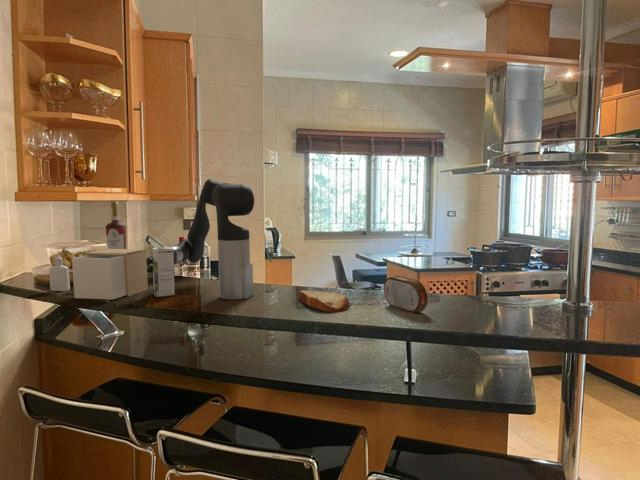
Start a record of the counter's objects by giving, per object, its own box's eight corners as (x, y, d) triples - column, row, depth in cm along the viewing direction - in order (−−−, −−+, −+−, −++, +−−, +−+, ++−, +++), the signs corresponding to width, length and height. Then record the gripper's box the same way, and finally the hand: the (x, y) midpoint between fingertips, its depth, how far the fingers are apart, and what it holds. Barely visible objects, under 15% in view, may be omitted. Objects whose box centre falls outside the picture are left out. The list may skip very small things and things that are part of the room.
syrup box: (153, 293, 149) (151, 247, 147) (173, 291, 151) (171, 246, 150) (155, 297, 144) (153, 249, 142) (175, 295, 146) (173, 248, 145)
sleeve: (147, 289, 156) (145, 249, 154) (128, 296, 146) (126, 253, 145) (108, 288, 159) (106, 248, 158) (87, 294, 149) (85, 252, 148)
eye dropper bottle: (61, 289, 159) (59, 252, 157) (72, 290, 156) (69, 253, 155) (48, 291, 155) (46, 254, 154) (59, 293, 152) (56, 255, 151)
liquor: (131, 272, 191) (127, 201, 188) (124, 275, 183) (121, 202, 180) (112, 272, 190) (108, 201, 187) (105, 276, 183) (101, 202, 180)
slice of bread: (303, 296, 145) (303, 283, 144) (360, 300, 138) (360, 287, 138) (277, 310, 128) (277, 296, 128) (341, 315, 122) (341, 300, 121)
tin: (428, 314, 120) (428, 281, 119) (418, 316, 118) (419, 282, 117) (391, 303, 133) (390, 273, 132) (381, 304, 131) (381, 274, 130)
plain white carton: (146, 288, 156) (144, 251, 155) (112, 299, 140) (110, 258, 139) (111, 286, 159) (109, 251, 158) (74, 297, 143) (71, 257, 142)
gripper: (152, 246, 183) (124, 252, 166) (184, 246, 179) (158, 252, 163) (153, 265, 183) (125, 273, 167) (185, 266, 180) (159, 274, 163)
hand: (141, 263), depth 165 cm, fingers closed
